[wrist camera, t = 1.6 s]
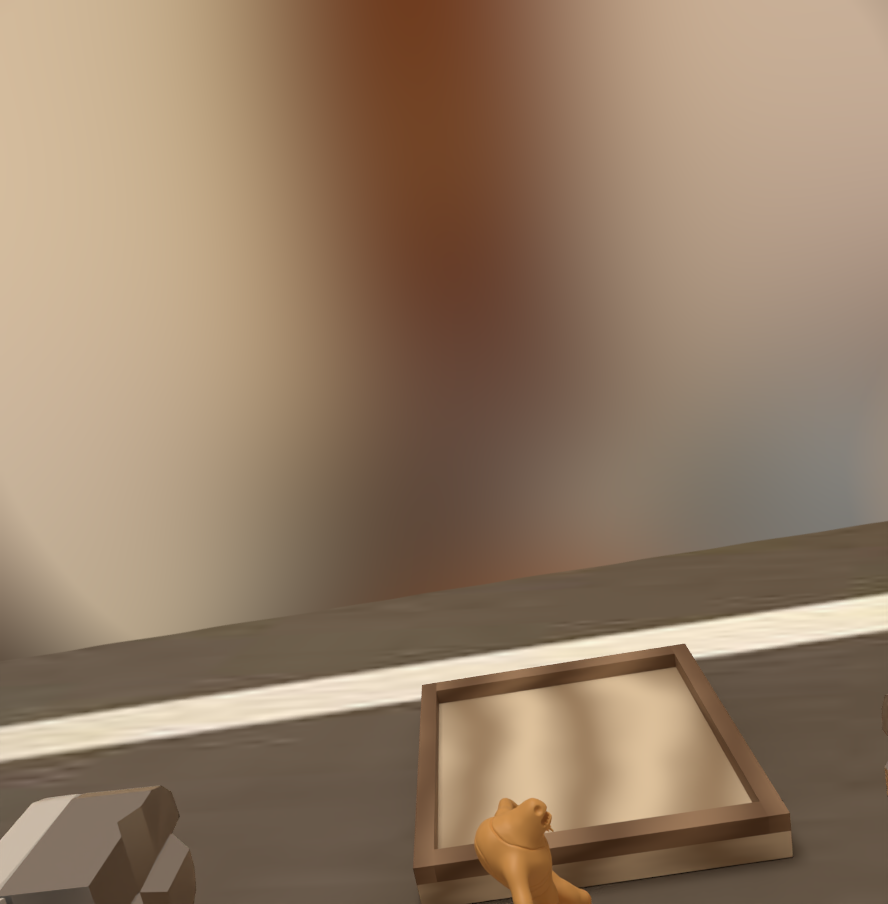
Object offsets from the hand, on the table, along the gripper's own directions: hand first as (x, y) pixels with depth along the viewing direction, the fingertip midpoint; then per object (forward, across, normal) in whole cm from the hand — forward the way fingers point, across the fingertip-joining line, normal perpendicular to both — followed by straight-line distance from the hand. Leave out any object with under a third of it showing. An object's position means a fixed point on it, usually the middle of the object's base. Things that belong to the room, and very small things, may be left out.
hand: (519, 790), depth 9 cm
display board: (+32, +1, -23) cm, 39 cm away
